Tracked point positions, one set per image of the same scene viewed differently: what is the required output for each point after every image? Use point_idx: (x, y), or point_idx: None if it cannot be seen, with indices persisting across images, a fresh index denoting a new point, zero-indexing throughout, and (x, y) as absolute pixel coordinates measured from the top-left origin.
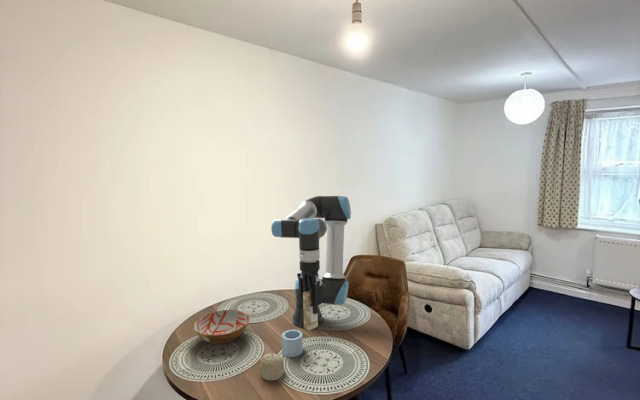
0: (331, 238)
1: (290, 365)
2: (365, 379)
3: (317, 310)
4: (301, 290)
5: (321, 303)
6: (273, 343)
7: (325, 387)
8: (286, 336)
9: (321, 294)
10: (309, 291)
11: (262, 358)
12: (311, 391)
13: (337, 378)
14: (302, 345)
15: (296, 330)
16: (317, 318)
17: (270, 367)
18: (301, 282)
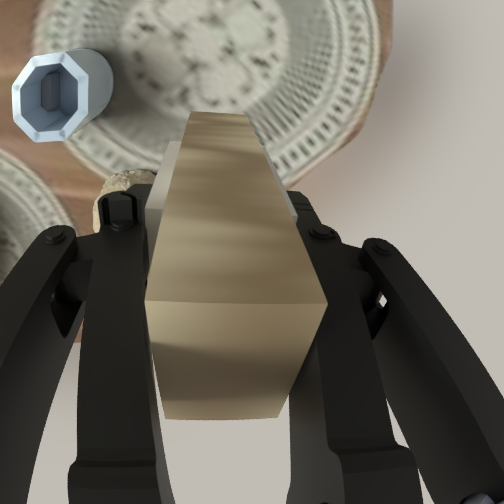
0: None
1: (140, 139)
2: (384, 38)
3: (311, 209)
4: (58, 373)
5: (394, 249)
6: (4, 117)
7: (311, 137)
8: (29, 106)
9: (458, 345)
10: (200, 374)
11: None
12: (289, 175)
13: (315, 81)
14: (91, 55)
15: (32, 64)
16: (253, 133)
17: None
18: (20, 477)
